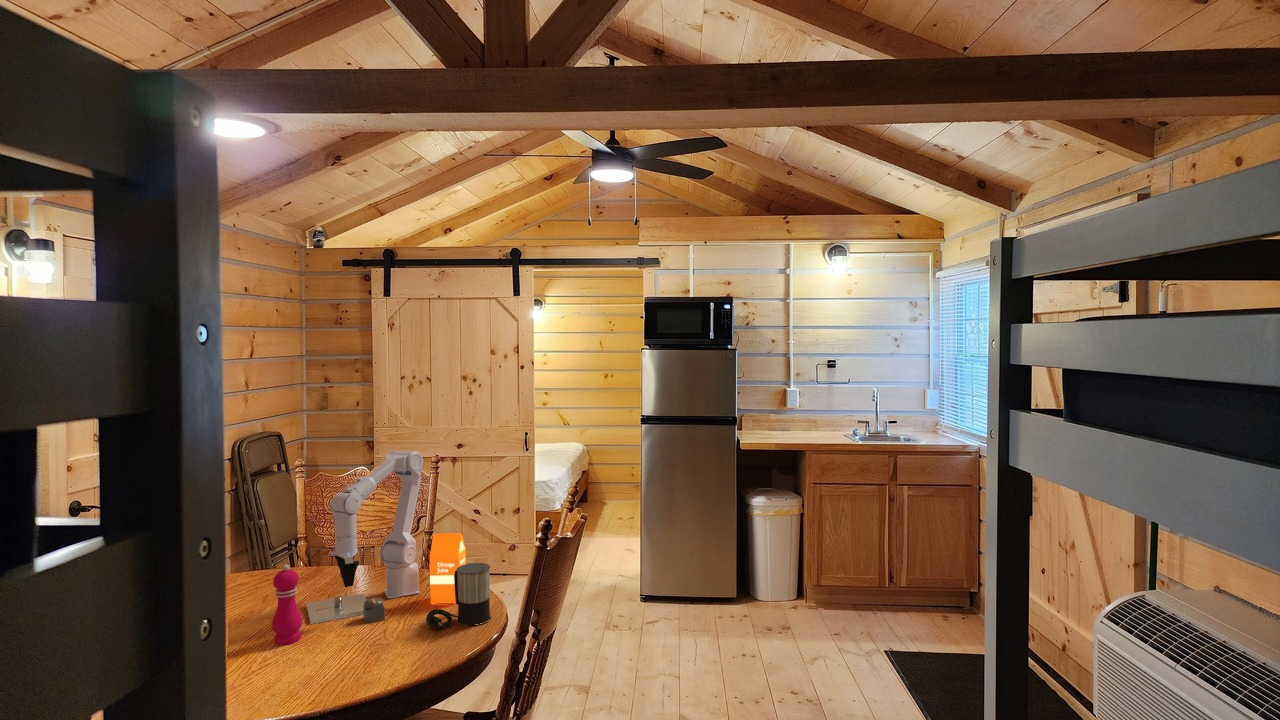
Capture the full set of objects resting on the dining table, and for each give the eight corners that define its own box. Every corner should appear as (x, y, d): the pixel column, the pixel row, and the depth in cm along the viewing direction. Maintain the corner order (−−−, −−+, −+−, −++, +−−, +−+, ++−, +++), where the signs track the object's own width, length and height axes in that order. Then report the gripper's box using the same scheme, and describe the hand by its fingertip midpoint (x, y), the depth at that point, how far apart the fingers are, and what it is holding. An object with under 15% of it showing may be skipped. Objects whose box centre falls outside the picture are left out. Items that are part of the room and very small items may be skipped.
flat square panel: (363, 596, 218) (363, 585, 217) (371, 612, 204) (371, 600, 203) (306, 606, 210) (306, 594, 210) (310, 624, 196) (310, 611, 196)
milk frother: (498, 617, 198) (497, 565, 198) (457, 638, 184) (455, 581, 184) (461, 609, 205) (460, 558, 205) (419, 628, 192) (417, 573, 191)
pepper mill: (290, 647, 181) (288, 569, 180) (265, 645, 182) (263, 568, 182) (309, 635, 188) (306, 560, 188) (285, 634, 189) (283, 559, 189)
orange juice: (459, 604, 209) (458, 536, 209) (430, 604, 209) (428, 537, 209) (466, 594, 217) (465, 530, 217) (438, 595, 217) (436, 530, 217)
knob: (363, 617, 200) (362, 599, 200) (381, 613, 203) (381, 596, 202) (365, 623, 196) (365, 604, 196) (384, 619, 198) (384, 601, 198)
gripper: (328, 531, 206) (330, 577, 206) (332, 543, 193) (334, 592, 193) (354, 528, 209) (356, 573, 209) (360, 539, 196) (361, 587, 196)
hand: (347, 582), depth 201 cm, fingers open, 7 cm apart
